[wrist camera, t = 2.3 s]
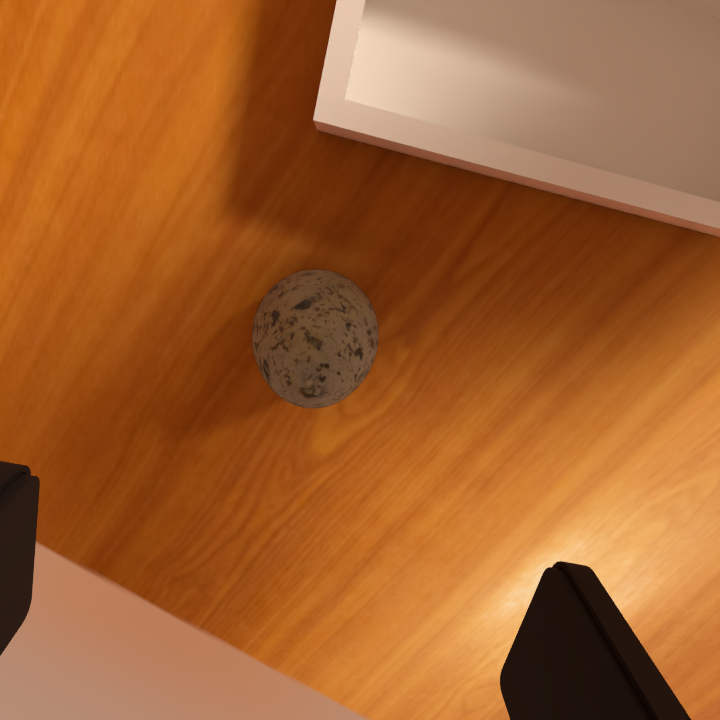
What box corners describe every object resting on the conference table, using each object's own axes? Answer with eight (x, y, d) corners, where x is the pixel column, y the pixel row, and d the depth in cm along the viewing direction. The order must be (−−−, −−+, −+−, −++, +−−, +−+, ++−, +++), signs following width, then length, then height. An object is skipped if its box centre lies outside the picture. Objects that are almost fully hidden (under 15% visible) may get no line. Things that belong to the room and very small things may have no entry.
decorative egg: (394, 300, 30) (422, 360, 20) (332, 383, 31) (331, 476, 22) (303, 236, 28) (287, 268, 19) (242, 326, 30) (200, 399, 20)
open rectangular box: (809, 30, 26) (941, -8, 20) (717, 236, 29) (809, 252, 24) (366, -113, 23) (376, -203, 18) (317, 130, 27) (313, 119, 21)
